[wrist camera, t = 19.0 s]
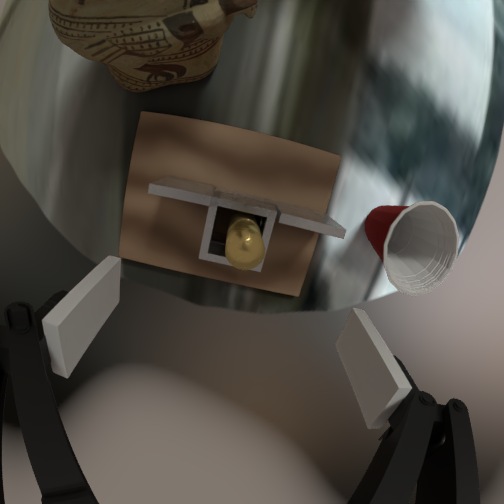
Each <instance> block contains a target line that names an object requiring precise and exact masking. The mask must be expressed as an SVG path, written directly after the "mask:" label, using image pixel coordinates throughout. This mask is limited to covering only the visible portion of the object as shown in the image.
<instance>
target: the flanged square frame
mask: <svg viewBox="0 0 504 504" xmlns="http://www.w3.org/2000/svg"><path fill="white" fill-rule="evenodd" d="M214 187H215V186H212V185H207V184H202V183H198V182H193V181H188V180H183V179H178V178H173V177H166V178H163V179H160V180H157V181H155V182H152V183H149V189H148V193H149V194H154V195H159V196H164V197H169V198H174V199H179V200H183V201H188V202H193V203H197V204H202V205H207V206H209V209H208V214H207V219H206V223H205V228H204V233H203V238H202V243H201V248H200V253H199V259H203V260H207V261H212V262H216V263H221V264H225V265H230V266H232V265H231V264H230V263H229V261H228V260H227V258H226V254H225V247H226V245H223V244H218V243H214V242H211V241H212V236H213V231H214V226H215V222H216V217H217V213H218V208H219V206H220V207H225V208H229V209H234V210H238V211H243V212H247V213H251V214H255V215H260V216H263V218H262V222H261V226H260V229H259V230H260V233H261V236H262V239H263V242H264V245H265V255H266V251H267V247H268V244H269V240H270V237H271V233H272V229H273V226H274V222H275V218H276V215H277V210H276V208H275V207H274V205H273V204H269V203H265V202H260V201H256V200H252V199H248V198H244V197H239V196H235V195H231V194H226V193H222V192H217V191H214ZM264 258H265V256H264ZM263 262H264V259H263V260H262V262H261V263H260V264H259V265H258V266H257V267H255V268H253V269H249V270H253V271H258V272H261V269H262V265H263Z"/></svg>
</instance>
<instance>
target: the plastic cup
mask: <svg viewBox="0 0 504 504" xmlns="http://www.w3.org/2000/svg"><path fill="white" fill-rule="evenodd" d="M365 231H366V234H367V237H368V240H369V241H370V242H371V244H372V246H373V248H374V250H375V251H376V253H377V254H378V256H379V257H380V259H381V260H382V262H383V264H384V267H385V270H386V273H387V276H388V279H389V281H390V282H391V283H392V284H393V285H394V286H395V287H396V288H397V289H398V290H399V291H400V292H403V293H406V294H409V295H412V296H415V295H421V294H426V293H429V292H430V291H432V290H433V289H435V288H436V287H438V286H439V285H441V284H442V282H443V281H444V280H445V278H446V277H447V276H448V275H449V273H450V272H451V270H452V268H453V265H454V263H455V260H456V258H457V255H458V245H459V235H458V230H457V226H456V222H455V220H454V218H453V217H452V216H451V214H450V213H449V211H448V210H447V209H446V208H445V207H443V206H441V205H439V204H438V203H436V202H434V201H427V202H417V203H415V204H413V205H411V206H389V205H387V206H379V207H377V208H375V209H373V210H372V211H371V212H370V214H369V215H368V217H367V219H366V222H365Z"/></svg>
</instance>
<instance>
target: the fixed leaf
mask: <svg viewBox="0 0 504 504" xmlns="http://www.w3.org/2000/svg"><path fill="white" fill-rule="evenodd" d="M215 191H217V192H222V193H226V194H231V195H235V196H239V197H244V198H248V199H252V200H256V201H260V202H265V203H269V204H273V205H274V207H275V208H276V210H277V215H276V218H277V220H278V222H279V223H283V224H287V225H291V226H295V227H299V228H303V229H307V230H311V231H315V232H319V233H323V234H327V235H330V236H334V237H338V238H342V239H344V236H345V233H346V229H345V228H343V227H342V226H341V225H340V224H338V223H337V222H336V221H335V220H333V219H332V218H331V217H330V216H328V215H327V214H326V213H323V212H319V211H316V210H312V209H308V208H304V207H301V206H297V205H293V204H289V203H285V202H281V201H277V200H273V199H269V198H265V197H261V196H257V195H253V194H249V193H244V192H240V191H236V190H231V189H227V188H222V187H217V189H216V190H215ZM219 209H220V206H219V208H218V213H219ZM218 213H217V217H216V222H217V218H218ZM262 218H263V216H260V215H259V217H258V221H257V224H258V227H259V229H260V226H261V222H262ZM216 222H215V226H214V231H213V236H212V241H211V242H214V243H218V244H223V245H226V239H227V235H226V234H221V233H217V232H215V227H216Z"/></svg>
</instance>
